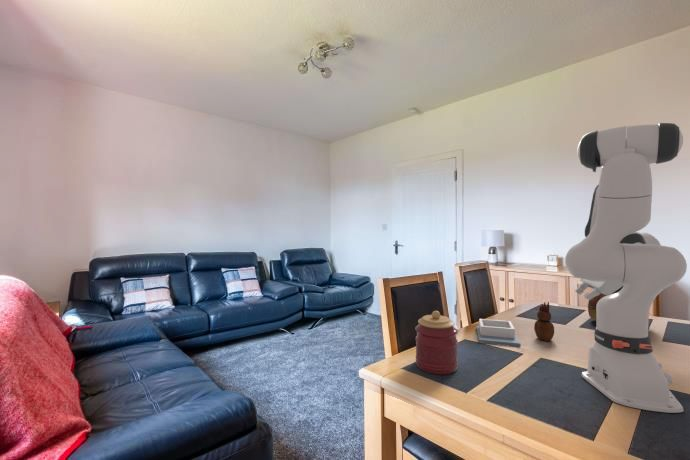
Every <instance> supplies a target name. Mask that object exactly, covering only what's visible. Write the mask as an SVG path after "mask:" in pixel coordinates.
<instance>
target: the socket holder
mask: <svg viewBox="0 0 690 460" xmlns="http://www.w3.org/2000/svg"><path fill="white" fill-rule="evenodd" d="M478 322H479V323H478V325H476V333H477V337H478V338H477V339H478V343H479V342H483V343H482V344H487V343H493V344H492V345H497V344H500V345H501V346H507V345H509V346H510V347H517V348H518V347H520V348H521V341H520V340H519V338H518V336H517V334H516V331H515V330H516V329H515V326H514V325H513V323H512V321H511V320H503V319H502V320H500V319H486V318H485V319H484V318H479V321H478ZM500 345H499V346H500Z"/></svg>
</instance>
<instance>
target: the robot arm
mask: <svg viewBox="0 0 690 460" xmlns="http://www.w3.org/2000/svg"><path fill="white" fill-rule="evenodd" d="M683 145H684V135H683V133H682V131H681V130H680V126H678V125H677V124H676V123H674V122H673V123H672V122H671V123H670V122H659V123H658V124H640V125H638V124H637V125H629V126H628V125H627V126H626V125H624V126H618V127H613V128H612V127H611V128H607V129H604V130H599V131H598V130H594V131H591V132H588V133H586V134H584V135H583V136H582V137H581V138H580V141H579V143H578V145H577V149H576V150H577V151H576V153H577V157H578V158H577V159H579V162H580V164H581V165H582V166H584V167H585V168H586V169H589V170H590V169H591V170H592V172H593V173H596V172H597V168H601V172H600V175H599V180H598V181H599V182H598V184H597V185H596V187H595V188H594V191H593V194H592V198H591V199H592V200H591V204H590V211H589V216H588V221H587V223H586V226H585V228H584V237H585V238H584V239H582V240H581V241H579V242H578V243H576V244H574V245H572V247H571V248H569V250H568V251H567V252H566V255H565V259H564V262H565V267H566V269H567V271H568V273H569V274H570V275H572V276H573V278H578V279H579V281H580V282H581V284H580V285H579V286H578V287H577V288H576V289H575V291H574V292H575V294H578V295H582V294H583V293H584V291H586V289H588V288H590V289H592V290H591V291H590V292H587V293H586V294H584V295H583V297H584V298H585V299H586V300H588V301H589V300H590V299H592V298H593V297H595V296H598V295H600V294H601V293H603V294H605V295H607V296H605V297H603V298H601V299H600V300H599V301H598V303H597V305H596V320H595V321H596V327H594V332H593V335H594V341H595V342H594V343H593V345H592V346H591V347H590V348H588V355H587V356H588V357H587V368H586V369H587V370H585V371H582V372H581V377H582V378H583V379H584V380H585V381H586V382H588V383H589V384H590V385H591V386H593V387H594V388H596V389H597V390H598V391H599V392H601V393H602V394H603V395H604V396H605V397H607V398H608V399H610V401H612V402H614V403H616V404H620V405H622V406H627V407H630V408H633V409H634V408H635V409H640V410H644V411H651V412H660V413H672V414H673V413H674V414H675V413H683V412H684V407H683V405H682V404H681V403H680V401H679V400H678V398H677V397H676V396H675V395H674V394H673V393H672V392H671V390H670V388H669V387H670V385H669V384H672V382H673V378H672V377H673V376H672V375H671V374H670V373H668V372H666V373H665V372H664V371H663V369H662V366H663V365H662V363H659V362H658V361H657V360H656V357H655V356H654V354H653V351H654V350H653V349H654V348H653V346H652V345H653V342H652V339H651V337H650V335H649V317H650V310H651V307H652V305H653V302H654V301H655V299H656V298H657V296H658V295H659V294H661V292H662V291H665V290H666V289H667V288H668V287H670V286H672V285H674V284H676V283H678V282H679V281H680V280H682V279H683V277H684V276H685V274H686V272H687V267H688V263H687V260H686V258H685V256H684V255H683V254H682V252H681V251H679V249H677V248H675V247H672V246H667V245H661V243H660V241H659V240H658V239H657V238H656V236H653V235H652V234H651V233H648V232H640V230H643V229H644V228H645V227H647V226H648V225H649V223H650V222H651V217H652V197H653V178H652V177H653V175H652V169H651V164H656V165H658V164H663V163H667V162H671V161H672V160H674V159H675V158H676V157H678V155H679V153H680V151H681V150H682V147H683ZM623 285H624V286H623ZM622 286H623V288H622V289H621V290H620V291H619V292H617V293H614V294H612V293H613V292H615V291H616V290H618V289H619V288H621V287H622ZM609 294H611V295H609Z"/></svg>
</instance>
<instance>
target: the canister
mask: <svg viewBox="0 0 690 460" xmlns="http://www.w3.org/2000/svg"><path fill="white" fill-rule="evenodd" d="M417 323H418V324H417V325H416V326H415V331H416V336H415V351H416V352H415V362H416V363H415V364H416V366H417V368H419V370H422V372H426V373H429V374H433V375H449V374H453V373H454V372H456V371H457V370H458V366H459V363H458V362H459V360H458V343H459V342H458V339H457V334H458V333H459V332H458V329H457V328H456V327H455V324H456V323H455V321H453V320H452V319H450V317H448V316H445V315H441V313H440V312H439V311H438V310H433V311H432V312H431V314H426V315H423V316H422V317H421V318H419V319H418V320H417Z"/></svg>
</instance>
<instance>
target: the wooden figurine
mask: <svg viewBox="0 0 690 460" xmlns="http://www.w3.org/2000/svg"><path fill="white" fill-rule="evenodd" d="M536 313H537V314H536V317H537V320H535V322H534V325H533V326H534V328H533V329H534V334H535V335H536V338H537V339H539V340H540V341H544V342H550V341H552V340H553V338H554V336H555V326H554V324H553V322H552V321H551V319H552V314H551V312H550V302H549V301H548V302H547V303H546V302H544V303H543V304H541V305H540V306H539V308H538V311H537V312H536Z"/></svg>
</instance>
